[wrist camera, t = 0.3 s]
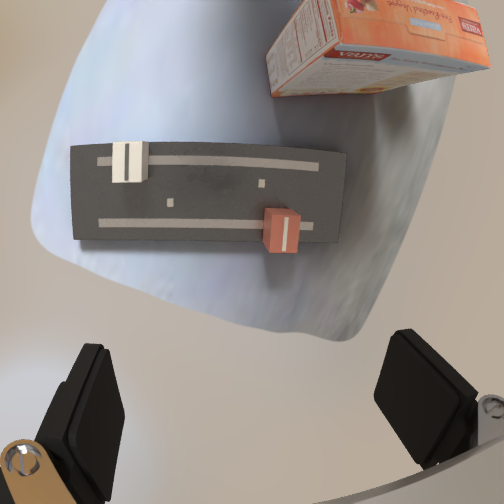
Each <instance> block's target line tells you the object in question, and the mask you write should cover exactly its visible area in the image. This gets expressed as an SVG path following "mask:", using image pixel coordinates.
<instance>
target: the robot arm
mask: <svg viewBox="0 0 504 504" xmlns="http://www.w3.org/2000/svg"><path fill="white" fill-rule="evenodd" d="M477 395H478V392H477V391H476V390H475V389H474V388H473V387H472V386H471V385H470V384H469V383H468V382H467V381H466V380H465V379H464V378H463V377H462V376H461V375H460V374H459V373H458V372H457V371H456V370H455V369H454V368H453V367H452V366H451V365H450V364H449V363H448V362H447V361H446V360H445V359H444V358H443V357H441V356H440V355H439V354H438V353H437V352H436V351H435V350H434V349H433V348H432V347H431V346H430V345H429V344H428V343H427V342H425V340H423V339H422V338H421V337H420V336H419V335H418V334H417V333H416V332H415V331H414V330H412V329H404V330H398V331H396V332H395V333H394V335H393V336H391V338H390V342H389V345H388V348H387V352H386V356H385V359H384V363H383V366H382V369H381V372H380V376H379V379H378V382H377V385H376V388H375V391H374V400H375V402H376V403H377V405H378V407H379V408H380V410H381V411H382V413H383V414H384V416H385V417H386V419H387V420H388V422H389V423H390V425H391V426H392V428H393V429H394V431H395V432H396V434H397V435H398V437H399V438H400V440H401V441H402V443H403V445H404V446H405V448H406V449H407V451H408V452H409V454H410V455H411V457H412V458H413V460H414V461H415V462H416V463H417V464H420V466H421V467H422V468H423V470H424V471H421V472H419V473H416V474H414V475H411V476H409V477H406V478H403V479H400V480H397V481H395V482H392V483H389V484H386V485H382V486H379V487H376V488H373V489H370V490H367V491H363V492H360V493H356V494H352V495H348V496H345V497H341V498H337V499H333V500H329V501H324V502H319V503H314V504H504V398H502V397H500V396H497V395H485V396H483V397H481V398H480V400H479V401H478V402H477V401H476V400H475V398H476V397H477ZM124 420H125V413H124V408H123V404H122V401H121V397H120V393H119V389H118V385H117V381H116V377H115V373H114V369H113V364H112V360H111V355H110V351H109V350H108V349H104V346H103V345H102V344H89V343H86V344H84V346H83V347H82V349H81V351H80V353H79V355H78V357H77V359H76V361H75V363H74V365H73V367H72V369H71V371H70V374H69V376H68V378H67V380H66V382H62V383H61V384H60V385H59V387H58V389H57V391H56V393H55V395H54V397H53V400H52V402H51V404H50V406H49V408H48V410H47V412H46V415H45V417H44V419H43V421H42V424H41V426H40V428H39V431H38V433H37V435H36V438H35V440H34V441H32V440H26V439H21V440H17V441H14V442H12V443H10V444H9V445H7V446H6V447H5V448H4V450H3V452H2V453H1V456H0V465H1V467H0V504H105V501H108V502H109V501H110V500H111V494H112V487H113V481H114V475H115V469H116V463H117V457H118V451H119V446H120V441H121V435H122V430H123V425H124ZM438 462H439V464H438V465H436V464H437V463H438Z"/></svg>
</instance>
